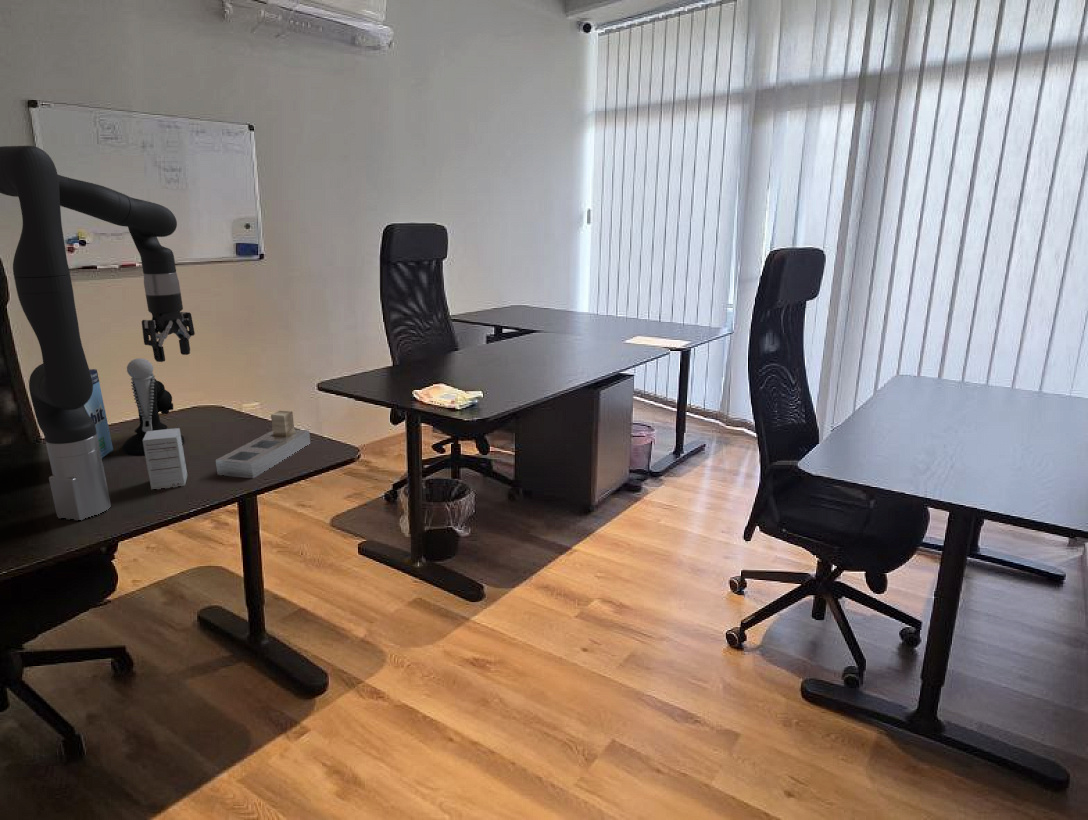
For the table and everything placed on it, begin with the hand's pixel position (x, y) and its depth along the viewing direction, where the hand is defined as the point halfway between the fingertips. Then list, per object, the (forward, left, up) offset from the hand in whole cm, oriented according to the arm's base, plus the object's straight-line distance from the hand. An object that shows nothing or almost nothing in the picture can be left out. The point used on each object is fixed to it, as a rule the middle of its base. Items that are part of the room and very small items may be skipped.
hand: (173, 357), depth 174 cm
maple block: (+17, -17, -28) cm, 37 cm away
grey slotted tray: (+8, -17, -28) cm, 34 cm away
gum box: (-5, +27, -28) cm, 39 cm away
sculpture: (+14, +22, -28) cm, 38 cm away
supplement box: (-12, -4, -28) cm, 31 cm away
